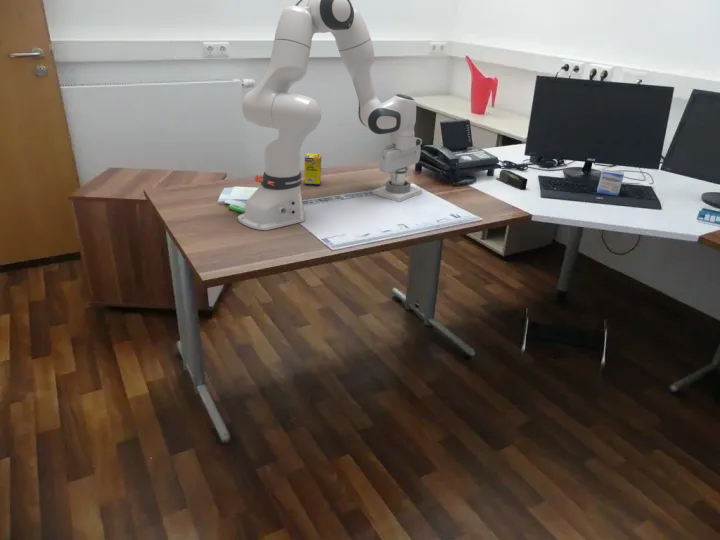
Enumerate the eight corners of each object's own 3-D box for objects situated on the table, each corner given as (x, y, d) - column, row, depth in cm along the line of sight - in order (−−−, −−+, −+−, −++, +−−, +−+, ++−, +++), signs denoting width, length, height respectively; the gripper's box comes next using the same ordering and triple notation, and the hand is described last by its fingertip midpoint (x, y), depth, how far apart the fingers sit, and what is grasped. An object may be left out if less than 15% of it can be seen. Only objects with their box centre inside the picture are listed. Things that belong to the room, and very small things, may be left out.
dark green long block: (529, 178, 216) (501, 166, 227) (523, 179, 214) (496, 167, 225) (526, 190, 218) (499, 178, 229) (521, 191, 217) (494, 179, 228)
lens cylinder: (399, 190, 202) (400, 171, 199) (388, 187, 205) (389, 168, 202) (407, 187, 206) (408, 169, 203) (396, 184, 209) (397, 166, 206)
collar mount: (399, 202, 199) (399, 191, 197) (373, 193, 205) (373, 183, 203) (421, 193, 208) (422, 183, 206) (396, 185, 215) (396, 175, 213)
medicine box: (596, 193, 218) (602, 171, 214) (597, 189, 222) (602, 168, 218) (618, 196, 215) (624, 174, 211) (618, 192, 219) (623, 171, 215)
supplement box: (320, 186, 210) (320, 158, 205) (304, 185, 210) (304, 157, 205) (321, 181, 216) (321, 153, 211) (306, 180, 216) (306, 153, 211)
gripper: (390, 148, 189) (387, 187, 195) (424, 139, 203) (421, 175, 209) (376, 144, 192) (374, 183, 199) (410, 135, 207) (407, 171, 213)
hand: (398, 179), depth 204 cm, fingers closed on lens cylinder, 5 cm apart
